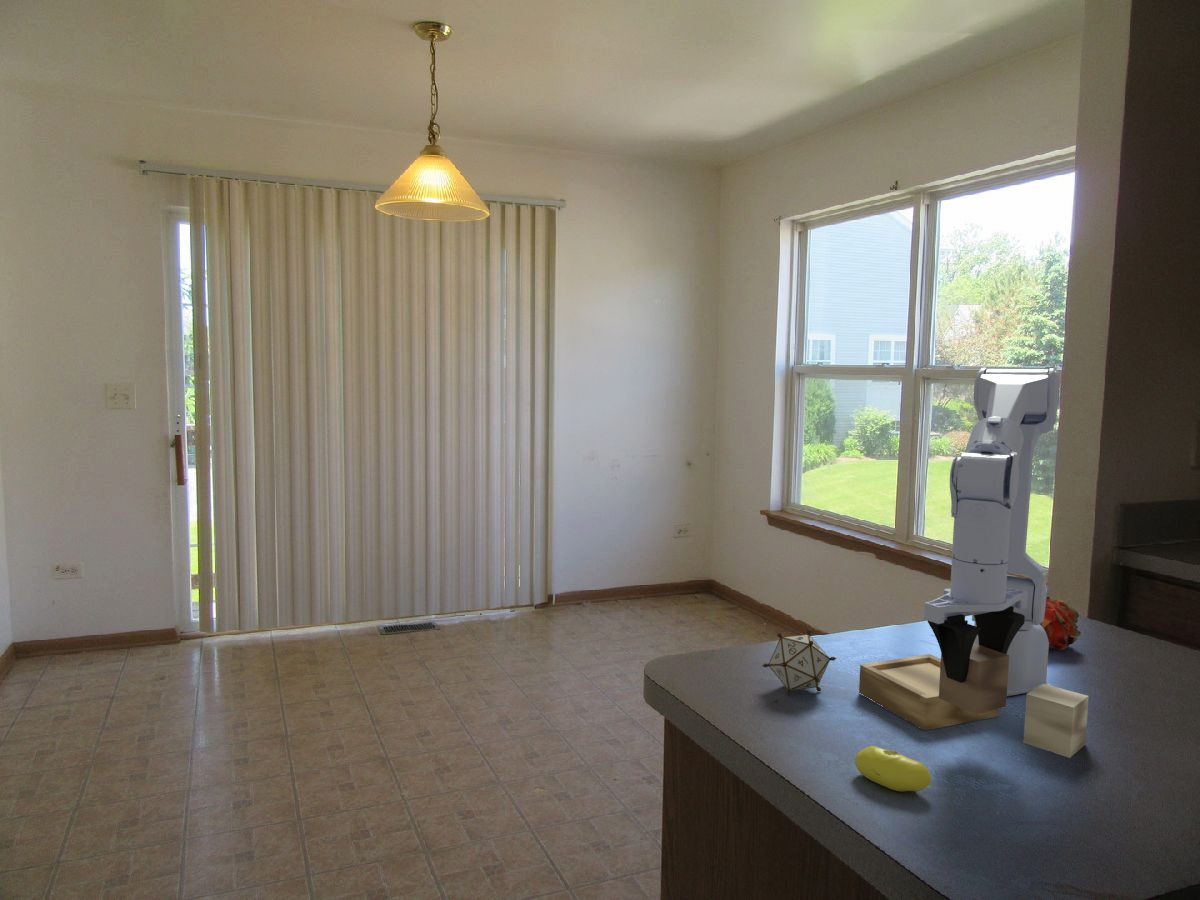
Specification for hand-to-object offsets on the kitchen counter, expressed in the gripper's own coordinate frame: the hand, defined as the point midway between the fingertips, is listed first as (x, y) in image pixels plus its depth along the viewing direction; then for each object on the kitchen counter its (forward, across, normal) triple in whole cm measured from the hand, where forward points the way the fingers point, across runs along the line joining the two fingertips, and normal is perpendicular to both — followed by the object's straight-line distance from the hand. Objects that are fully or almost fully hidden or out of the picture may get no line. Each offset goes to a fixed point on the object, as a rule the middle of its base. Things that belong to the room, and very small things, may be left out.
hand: (972, 675), depth 93 cm
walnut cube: (+3, 0, 0) cm, 3 cm away
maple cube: (+9, -11, +3) cm, 14 cm away
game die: (+9, +6, -22) cm, 25 cm away
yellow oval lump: (+9, +14, +2) cm, 17 cm away
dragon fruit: (+9, -42, -19) cm, 47 cm away
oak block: (+9, -6, -11) cm, 16 cm away
